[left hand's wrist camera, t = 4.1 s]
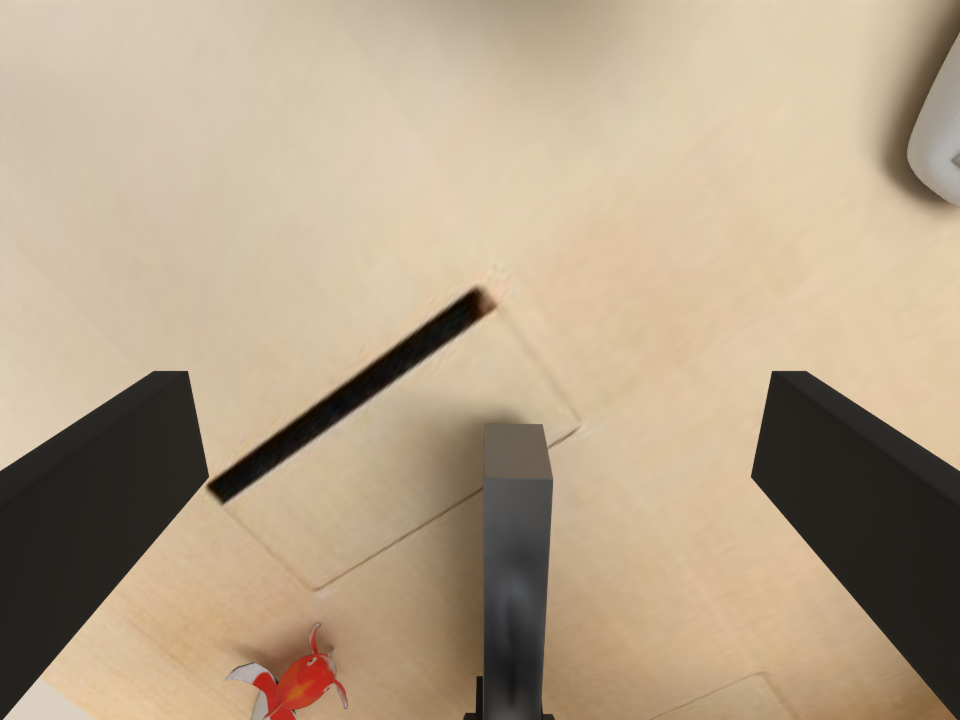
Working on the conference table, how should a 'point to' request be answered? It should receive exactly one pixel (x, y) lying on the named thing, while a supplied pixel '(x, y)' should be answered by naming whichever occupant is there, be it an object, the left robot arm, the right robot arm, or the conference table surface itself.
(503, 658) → the bar
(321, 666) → the fish
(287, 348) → the conference table surface
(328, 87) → the conference table surface
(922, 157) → the projector
